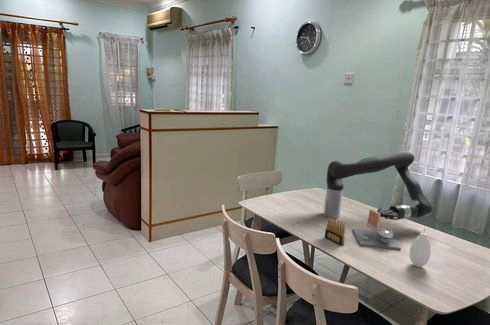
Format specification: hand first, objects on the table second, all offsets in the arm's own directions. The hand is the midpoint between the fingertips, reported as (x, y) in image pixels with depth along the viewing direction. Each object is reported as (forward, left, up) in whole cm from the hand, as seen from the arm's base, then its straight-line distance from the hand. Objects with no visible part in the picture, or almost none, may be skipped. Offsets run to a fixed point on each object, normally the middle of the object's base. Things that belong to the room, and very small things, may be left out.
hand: (374, 215), depth 170 cm
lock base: (+1, -4, -12) cm, 13 cm away
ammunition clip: (-21, -11, -12) cm, 27 cm away
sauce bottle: (+13, -27, -12) cm, 33 cm away
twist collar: (+2, -5, -8) cm, 9 cm away
